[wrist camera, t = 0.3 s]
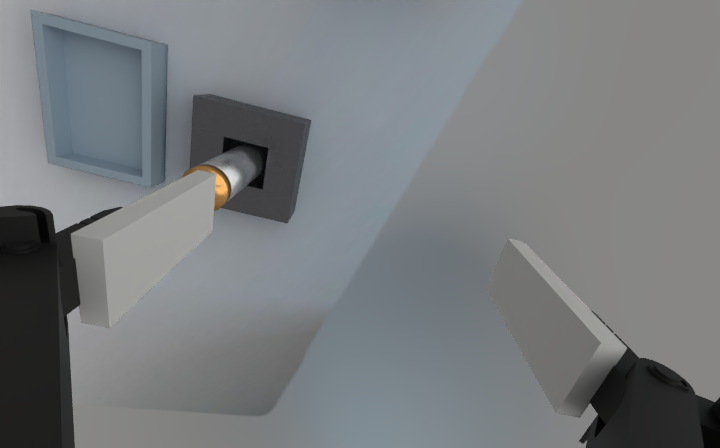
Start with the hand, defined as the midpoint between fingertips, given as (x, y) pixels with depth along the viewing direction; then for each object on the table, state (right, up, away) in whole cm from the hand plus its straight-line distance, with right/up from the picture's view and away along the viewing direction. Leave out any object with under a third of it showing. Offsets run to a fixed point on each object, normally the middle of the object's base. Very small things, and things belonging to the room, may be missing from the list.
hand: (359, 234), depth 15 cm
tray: (-29, +15, +25) cm, 41 cm away
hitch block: (-13, +9, +27) cm, 31 cm away
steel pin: (-13, +9, +27) cm, 31 cm away
